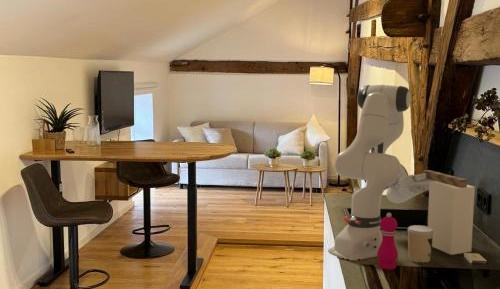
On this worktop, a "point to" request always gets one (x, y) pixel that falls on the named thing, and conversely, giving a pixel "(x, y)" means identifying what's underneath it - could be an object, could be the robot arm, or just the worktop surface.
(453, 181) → the walnut bar
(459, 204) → the cream stand
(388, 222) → the pepper mill
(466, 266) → the worktop surface
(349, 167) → the robot arm
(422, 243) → the coffee cup
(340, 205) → the worktop surface
